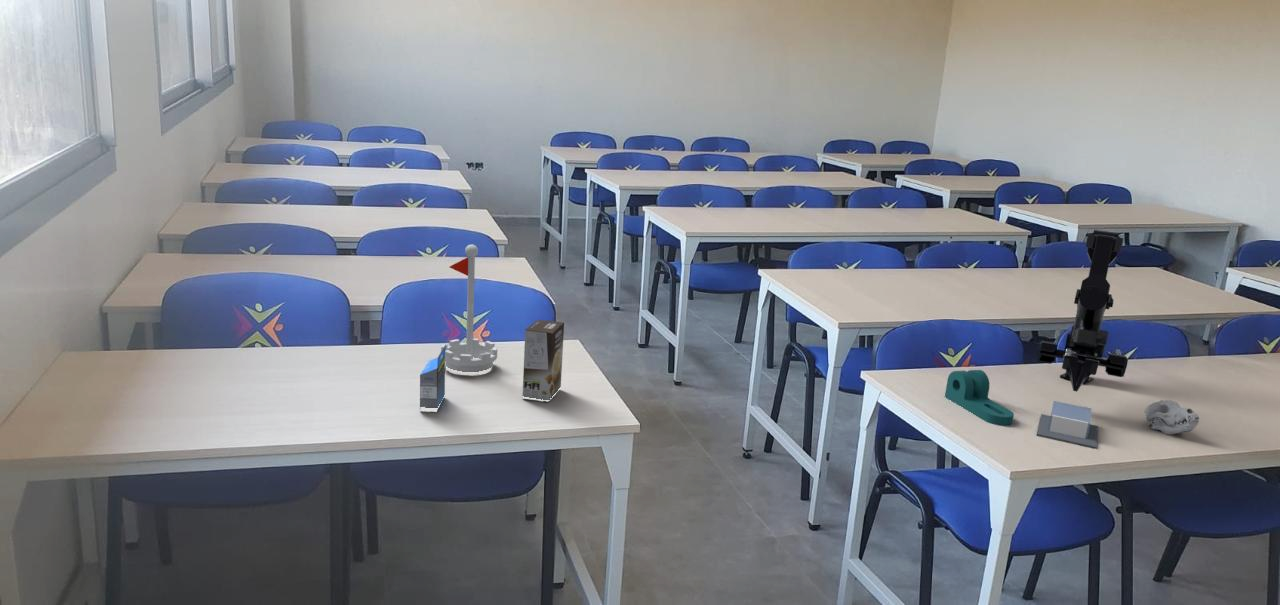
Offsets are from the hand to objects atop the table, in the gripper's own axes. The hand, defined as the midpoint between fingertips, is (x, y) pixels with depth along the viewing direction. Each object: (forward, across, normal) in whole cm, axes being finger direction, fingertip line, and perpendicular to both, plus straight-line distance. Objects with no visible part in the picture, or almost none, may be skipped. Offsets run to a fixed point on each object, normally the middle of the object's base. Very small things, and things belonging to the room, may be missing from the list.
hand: (1075, 390), depth 212 cm
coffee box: (+46, -106, -36) cm, 121 cm away
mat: (+10, 0, 0) cm, 10 cm away
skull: (0, +20, +11) cm, 23 cm away
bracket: (+10, -19, +2) cm, 21 cm away
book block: (+3, 0, +4) cm, 5 cm away
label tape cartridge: (+60, -122, -49) cm, 144 cm away
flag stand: (+44, -129, -32) cm, 140 cm away
